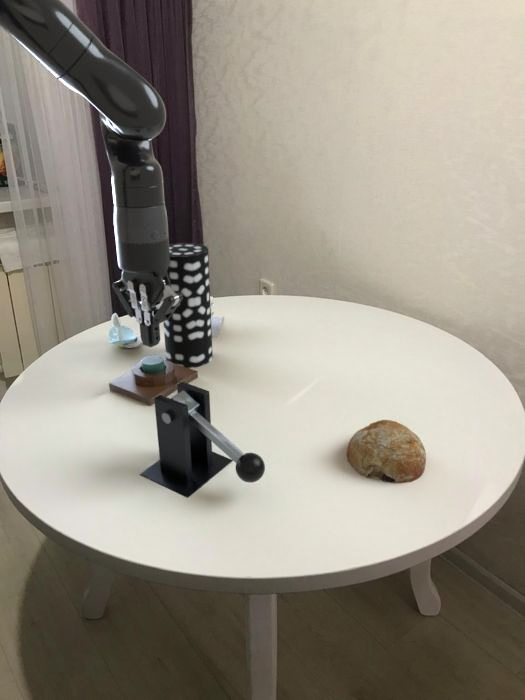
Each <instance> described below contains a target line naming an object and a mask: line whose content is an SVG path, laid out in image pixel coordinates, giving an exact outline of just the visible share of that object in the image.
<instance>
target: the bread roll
mask: <svg viewBox="0 0 525 700" xmlns="http://www.w3.org/2000/svg"><path fill="white" fill-rule="evenodd" d="M345 457H346V460H347V461H348V462H349V463H350V465H351V467H352V468H353V469H354V471H355V472H357V473H358V474H359V475H361V476H363V477H365V478H367V479H371V478H378V479H379V480H382V482H385V483H394V484H405V483H413V482H414V481H417V480H418V479H420V478H421V477H422V476H423V474H424V472H425V470H426V463H427V458H426V457H427V456H426V448H425V445H424V443H423V442H422V440H421V438H420V437H419V436H418V435H417V434H416V433H415V432H413V431H412V430H411V429H410V428H409V427H407V426H406V425H405V424H402V423H400V422H397V421H395V420H391V419H380V420H377V421H374V422H371V423H369V425H366V426H365V427H362V428H360V429H358V430H357V431H356V432H355V433H354V434H353V435H352V437H351V438H350V440H349V442H348V443H347V448H346V456H345Z"/></svg>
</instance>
